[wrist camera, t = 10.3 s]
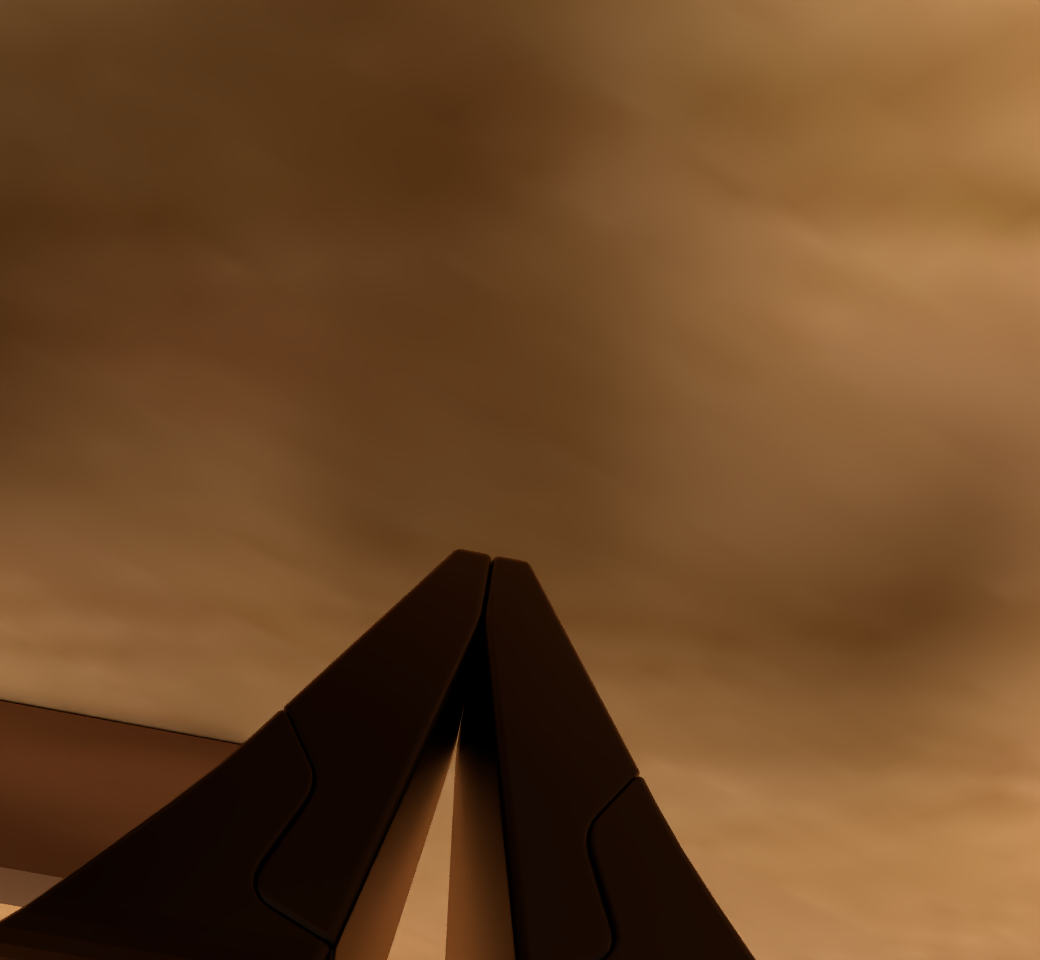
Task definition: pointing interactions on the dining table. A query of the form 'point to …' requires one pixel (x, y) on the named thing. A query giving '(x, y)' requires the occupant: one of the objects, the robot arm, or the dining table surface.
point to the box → (82, 789)
